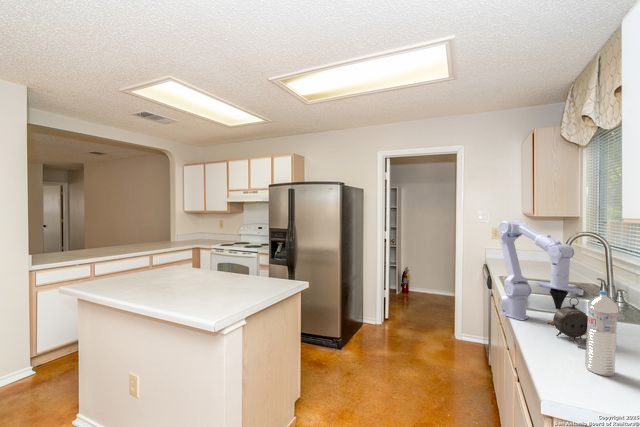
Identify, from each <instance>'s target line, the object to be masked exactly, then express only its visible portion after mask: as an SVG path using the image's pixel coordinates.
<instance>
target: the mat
mask: <svg viewBox="0 0 640 427" xmlns="http://www.w3.org/2000/svg"><path fill="white" fill-rule="evenodd" d="M577 348H578V349H582V350H585V351H586V337H585V338H584V339H583V341H581V342H580V343H579V344H578V346H577Z"/></svg>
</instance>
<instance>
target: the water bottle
mask: <svg viewBox="0 0 640 427" xmlns="http://www.w3.org/2000/svg"><path fill="white" fill-rule="evenodd" d="M598 293H599V295H596V296H594V297H593V298H591V299H590V300H589V301H588V303H587V316H588V324H587V335H586V336H585V338H586V350H585V358H584V359H585V360H584V362H585V363H584V365H585V368H586V369H587V370H588V371H590V372H591V373H593V374H596V375H598V376H599V375H600V376H604V377H613V376H614V375H615V370H616V355H617V354H616V353H617V352H616V351H617V338H618V336H617V334H618V333H617V329H618V328H617V324H618V323H617V321H618V312H619V306H618V305H617V304H616V302H614V301H613V299H611V298H609V297H608V291H606V290H599V292H598Z"/></svg>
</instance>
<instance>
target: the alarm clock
mask: <svg viewBox="0 0 640 427" xmlns="http://www.w3.org/2000/svg"><path fill="white" fill-rule="evenodd" d="M572 299H576V300H577V302H576V303H575V304H572V303H571V301H572ZM579 301H580V300H579V299H578V298H577V297H571V298H570V299H569V304H570V306H569V305H568V306H563V307H561V309H559V310H558V309H557V311H556V312H555V313H554V315H553V317H552V318H553V319H552V321H553V322H554V325H553V326H554V327H555V329H556V330H558V331H559V332H558V333H557V334H556V337H559V336H560V335H561V334H563V335H565V336H566V337H569V338H572V340H573V341H574V342H576V340H577V339H576V338H579V339H582V336H583V337H584V335H585V334H586V333H587V324H588V314H586V313H585V312H584V311H583V310H580V309H579V308H577V305H579V303H580V302H579Z"/></svg>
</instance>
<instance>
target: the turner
mask: <svg viewBox="0 0 640 427" xmlns="http://www.w3.org/2000/svg"><path fill="white" fill-rule="evenodd" d="M547 323H549V325H552V324H553V326H555V325H554V322H553V320H548V321H547ZM584 335H586V336H587V333H586V334H584Z"/></svg>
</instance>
